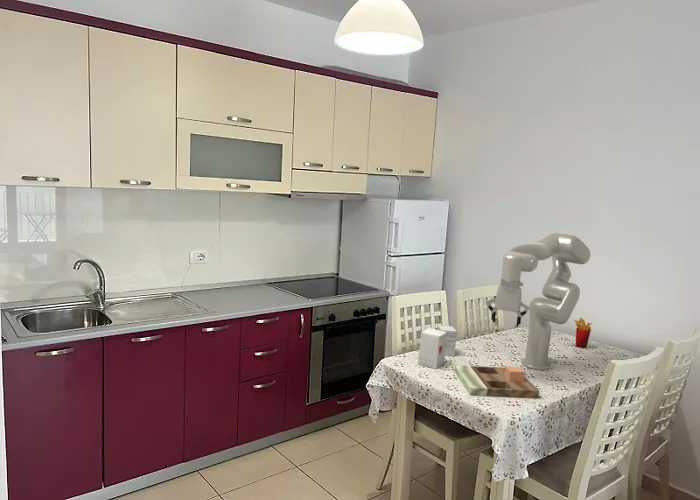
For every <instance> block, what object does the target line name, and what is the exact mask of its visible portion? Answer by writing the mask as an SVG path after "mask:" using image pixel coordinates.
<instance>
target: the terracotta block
mask: <svg viewBox="0 0 700 500" xmlns="http://www.w3.org/2000/svg"><path fill="white" fill-rule="evenodd" d="M504 368H505V373H504V375H505V377H506V378H507V379H508V380H509V381H522V382H524V377H526V371H524V370H523V368H521V367H520V366H516V365H515V366H514V365H513V366H511V365H505V367H504Z"/></svg>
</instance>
